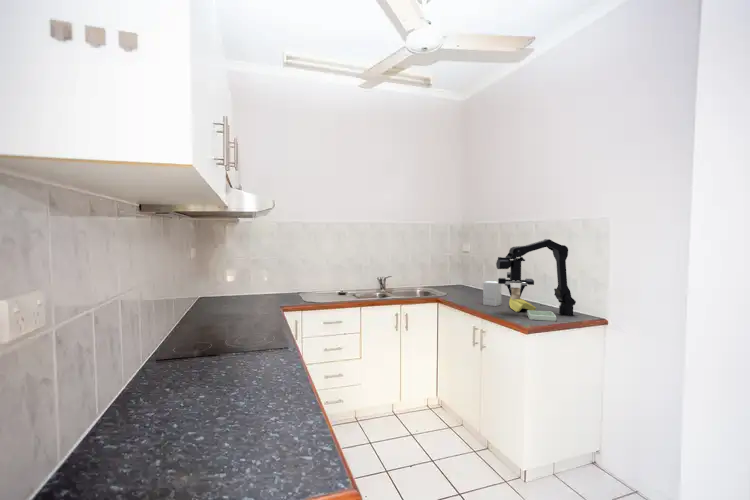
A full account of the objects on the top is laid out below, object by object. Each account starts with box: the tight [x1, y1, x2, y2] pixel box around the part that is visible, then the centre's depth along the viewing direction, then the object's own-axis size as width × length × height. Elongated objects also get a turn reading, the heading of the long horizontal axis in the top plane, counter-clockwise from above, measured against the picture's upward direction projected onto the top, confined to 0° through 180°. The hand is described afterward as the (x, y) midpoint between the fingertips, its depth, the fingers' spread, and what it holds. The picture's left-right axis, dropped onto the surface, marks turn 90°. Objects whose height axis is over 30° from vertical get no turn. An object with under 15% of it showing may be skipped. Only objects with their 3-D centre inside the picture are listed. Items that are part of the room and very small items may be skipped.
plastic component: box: [508, 296, 537, 313], centre depth 226 cm, size 20×7×10 cm
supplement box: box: [482, 280, 502, 307], centre depth 241 cm, size 9×9×15 cm
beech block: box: [510, 286, 521, 300], centre depth 209 cm, size 4×4×6 cm
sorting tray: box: [526, 309, 557, 322], centre depth 203 cm, size 13×13×2 cm
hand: (515, 296), depth 209 cm, fingers closed on beech block, 4 cm apart
